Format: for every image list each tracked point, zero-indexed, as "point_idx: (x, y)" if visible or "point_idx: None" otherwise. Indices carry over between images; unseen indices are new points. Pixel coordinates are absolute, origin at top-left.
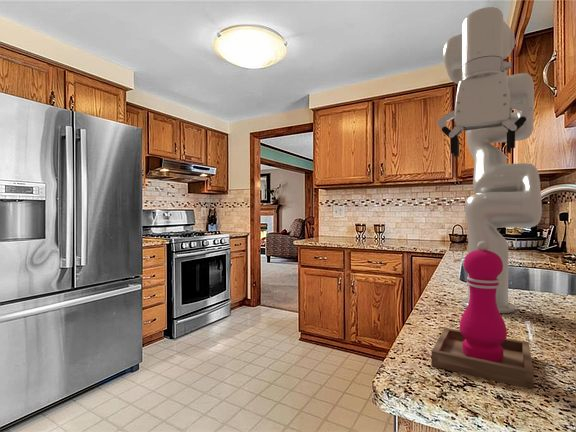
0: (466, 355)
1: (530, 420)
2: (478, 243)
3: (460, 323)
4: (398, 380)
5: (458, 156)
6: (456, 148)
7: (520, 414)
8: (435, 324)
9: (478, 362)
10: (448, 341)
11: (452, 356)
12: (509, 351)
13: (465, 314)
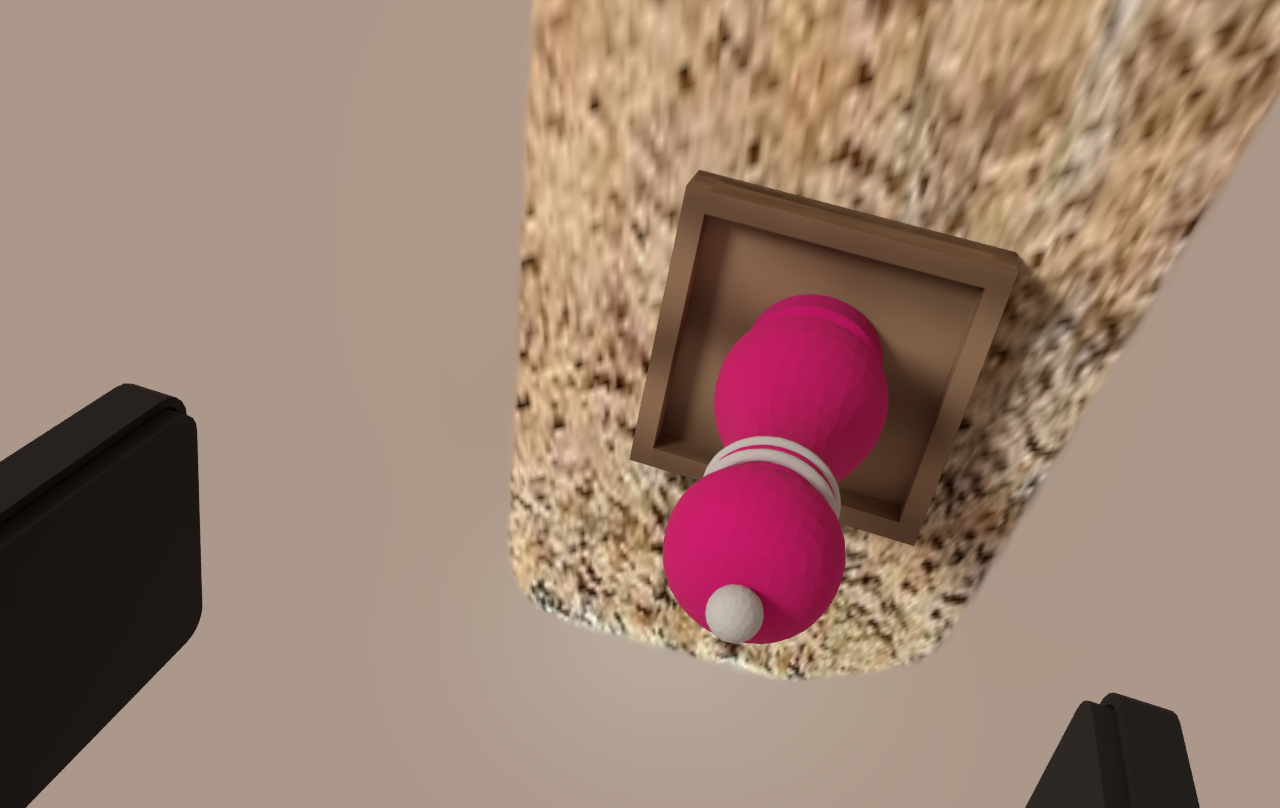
0: None
1: (850, 652)
2: (708, 624)
3: (714, 409)
4: (559, 540)
5: (194, 454)
6: (107, 704)
7: (835, 635)
8: None
9: None
10: (704, 250)
11: (693, 477)
12: (929, 294)
13: (722, 441)
